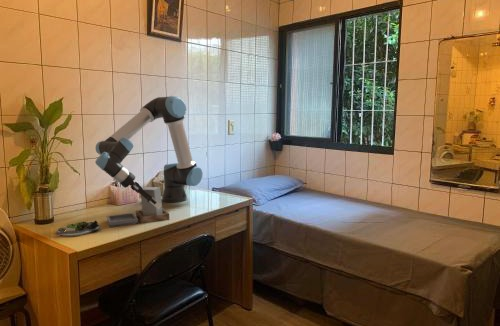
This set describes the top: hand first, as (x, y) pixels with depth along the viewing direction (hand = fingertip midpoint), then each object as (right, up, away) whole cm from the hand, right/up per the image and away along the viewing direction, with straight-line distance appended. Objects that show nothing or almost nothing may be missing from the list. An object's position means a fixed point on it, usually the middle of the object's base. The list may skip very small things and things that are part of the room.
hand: (157, 204), depth 193 cm
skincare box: (-3, -7, -1) cm, 7 cm away
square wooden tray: (-3, -7, -1) cm, 7 cm away
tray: (-16, -8, -8) cm, 19 cm away
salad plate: (-31, -10, -21) cm, 38 cm away
